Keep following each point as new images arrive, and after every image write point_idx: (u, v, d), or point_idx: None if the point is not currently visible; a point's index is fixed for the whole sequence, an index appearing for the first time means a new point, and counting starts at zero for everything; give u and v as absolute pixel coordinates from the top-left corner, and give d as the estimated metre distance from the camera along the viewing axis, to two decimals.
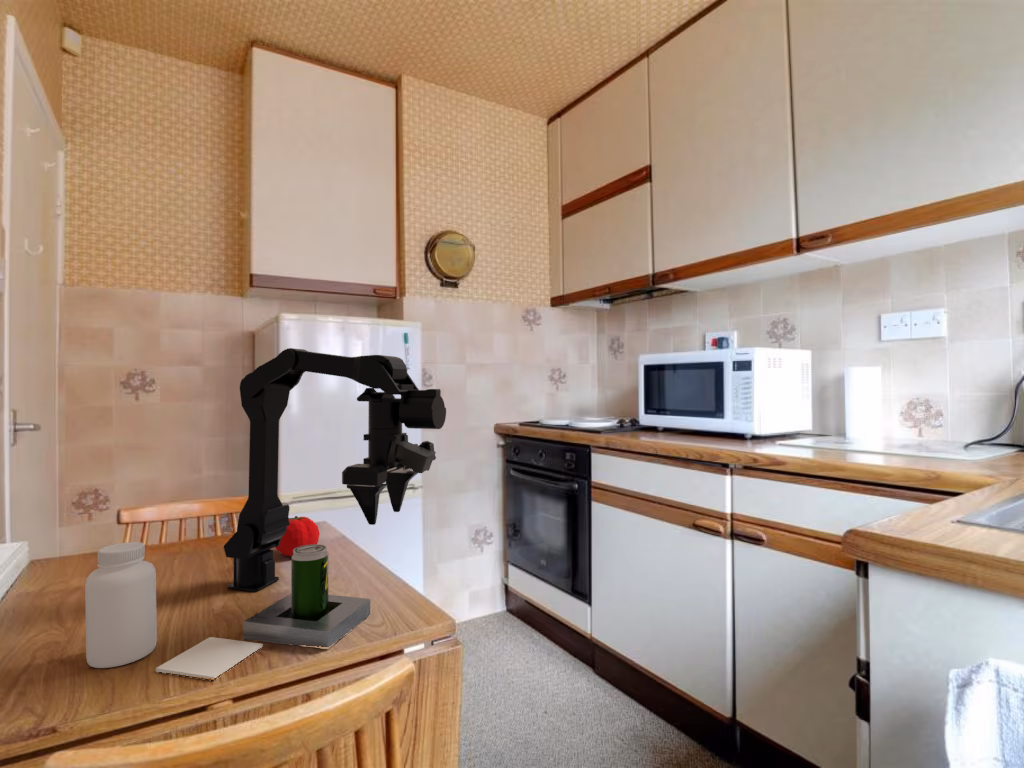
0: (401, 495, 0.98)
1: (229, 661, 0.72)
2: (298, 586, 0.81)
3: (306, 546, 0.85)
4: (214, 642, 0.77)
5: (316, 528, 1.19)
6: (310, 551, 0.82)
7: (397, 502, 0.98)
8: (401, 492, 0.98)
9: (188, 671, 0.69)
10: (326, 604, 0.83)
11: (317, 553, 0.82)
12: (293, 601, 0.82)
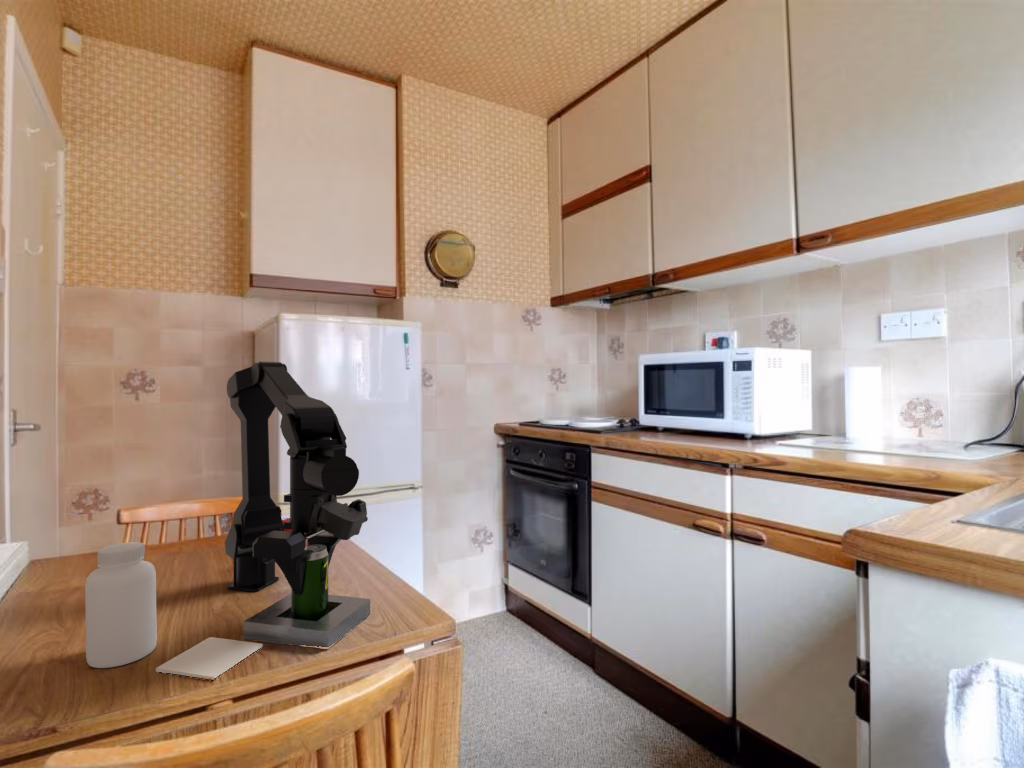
0: None
1: (229, 661, 0.72)
2: None
3: (306, 546, 0.85)
4: (214, 642, 0.77)
5: None
6: None
7: None
8: None
9: (188, 671, 0.69)
10: (326, 604, 0.83)
11: (317, 553, 0.82)
12: (293, 601, 0.82)
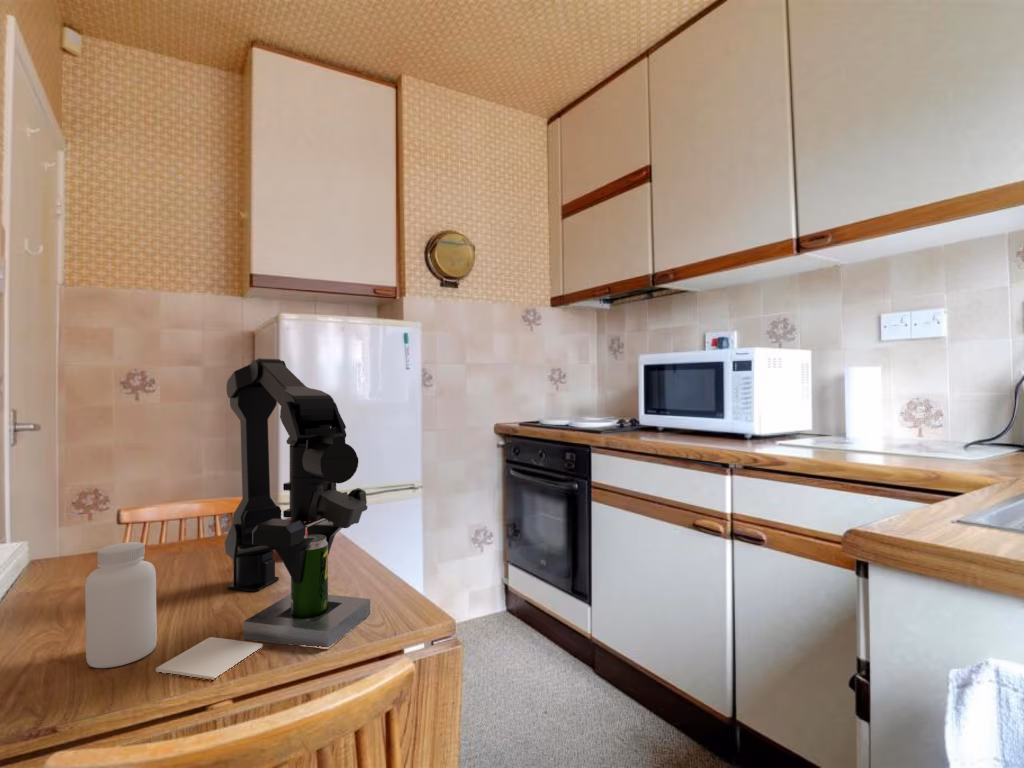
0: None
1: (229, 661, 0.72)
2: None
3: (306, 536, 0.85)
4: (214, 642, 0.77)
5: None
6: None
7: None
8: None
9: (188, 671, 0.69)
10: (326, 594, 0.83)
11: (317, 542, 0.82)
12: (293, 590, 0.81)
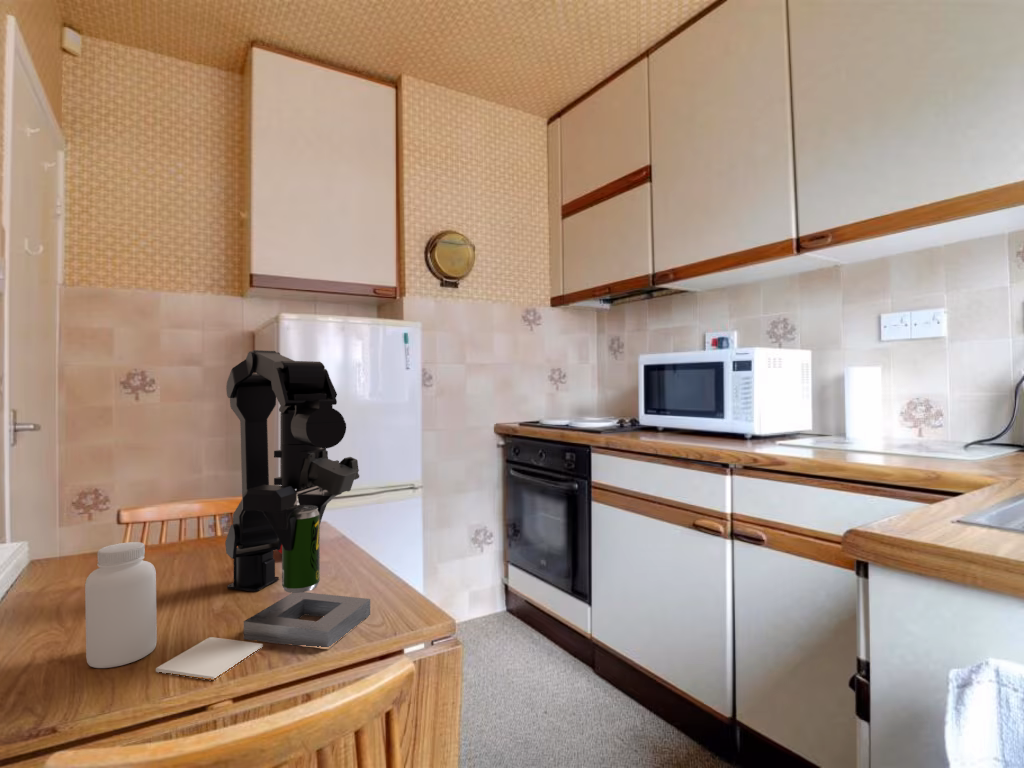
0: None
1: (229, 661, 0.72)
2: None
3: None
4: (214, 642, 0.77)
5: None
6: (301, 510, 0.81)
7: None
8: None
9: (188, 671, 0.69)
10: (317, 564, 0.82)
11: (308, 512, 0.81)
12: (283, 560, 0.81)
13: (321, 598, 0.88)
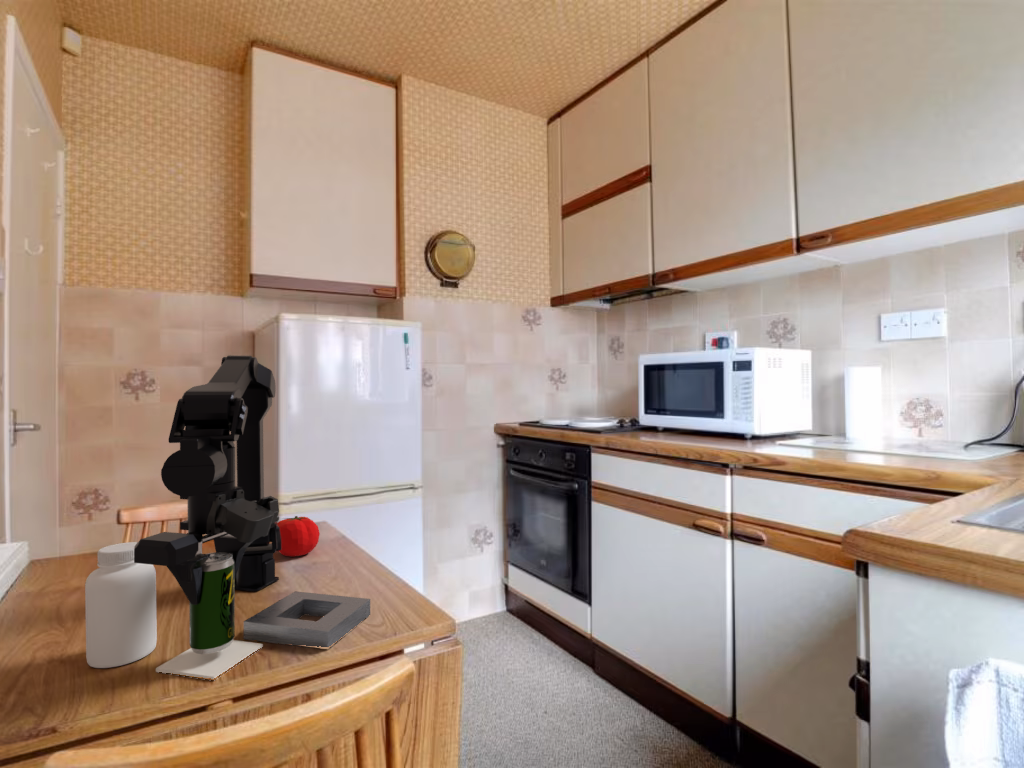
0: None
1: (229, 661, 0.72)
2: None
3: (210, 554, 0.75)
4: None
5: (316, 528, 1.19)
6: (210, 560, 0.72)
7: None
8: None
9: (188, 671, 0.69)
10: (230, 620, 0.73)
11: (218, 563, 0.72)
12: (190, 617, 0.72)
13: (321, 598, 0.88)
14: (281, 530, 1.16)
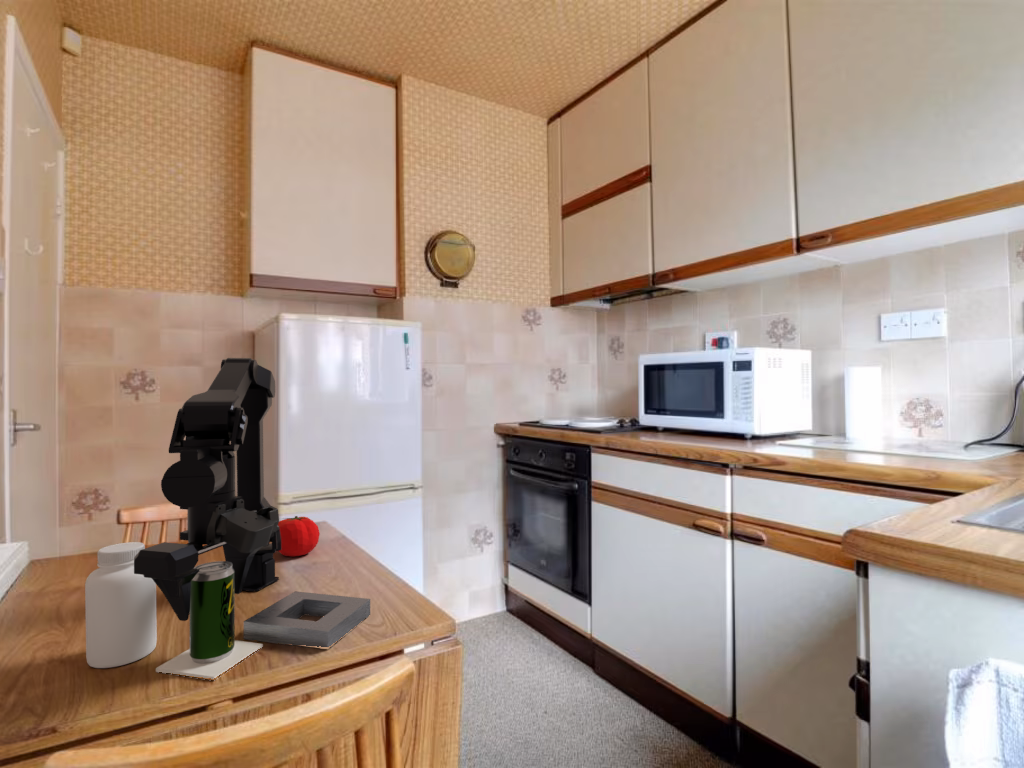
0: (242, 573, 0.78)
1: (229, 661, 0.72)
2: (195, 610, 0.71)
3: (210, 563, 0.75)
4: None
5: (316, 528, 1.19)
6: (210, 570, 0.72)
7: (236, 582, 0.78)
8: (242, 569, 0.78)
9: (188, 671, 0.69)
10: (230, 630, 0.73)
11: (218, 572, 0.72)
12: (190, 626, 0.72)
13: (321, 598, 0.88)
14: (281, 530, 1.16)
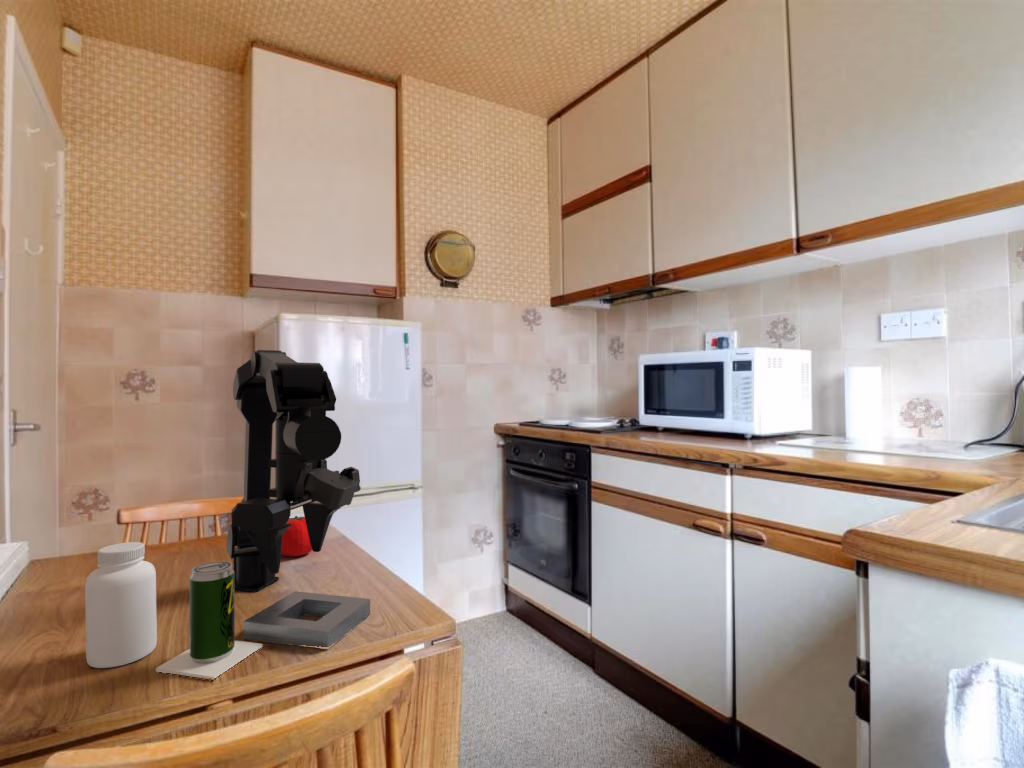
0: (322, 532, 0.80)
1: (229, 661, 0.72)
2: (195, 610, 0.71)
3: (210, 563, 0.75)
4: None
5: None
6: (211, 570, 0.72)
7: (317, 540, 0.80)
8: (322, 528, 0.80)
9: (188, 671, 0.69)
10: (230, 630, 0.73)
11: (218, 572, 0.72)
12: (190, 626, 0.72)
13: (321, 598, 0.88)
14: None
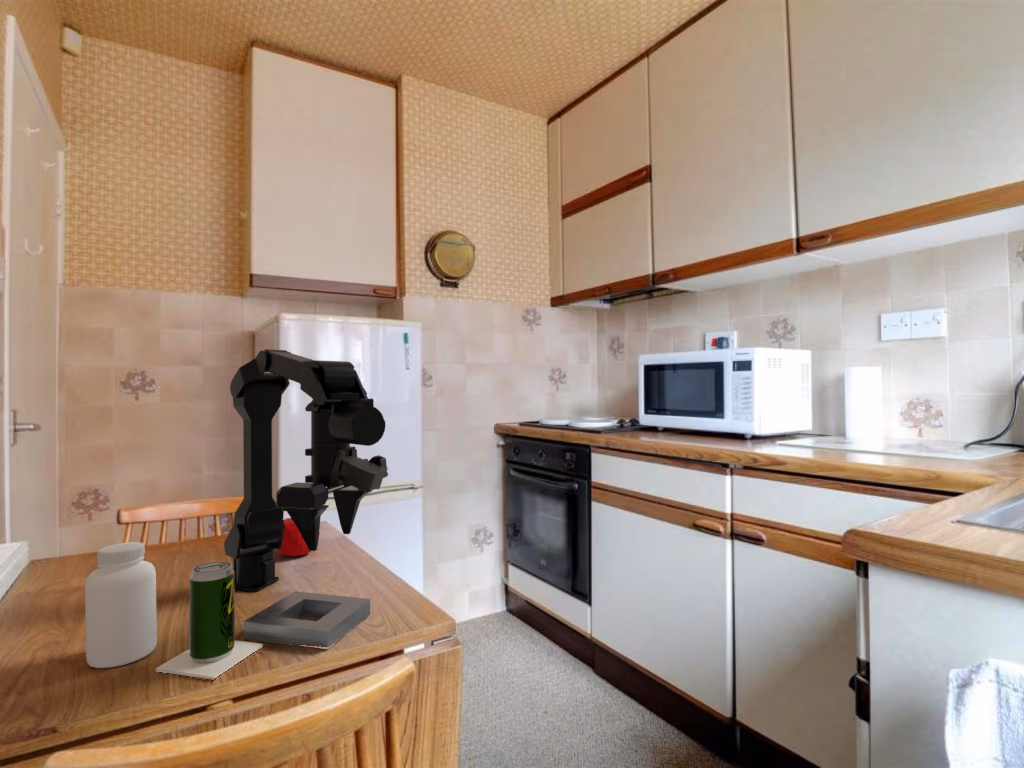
0: (351, 515, 0.88)
1: (229, 661, 0.72)
2: (195, 610, 0.71)
3: (210, 563, 0.75)
4: None
5: None
6: (211, 570, 0.72)
7: (347, 523, 0.88)
8: (351, 512, 0.88)
9: (188, 671, 0.69)
10: (230, 630, 0.73)
11: (218, 572, 0.72)
12: (190, 626, 0.72)
13: (321, 598, 0.88)
14: None
